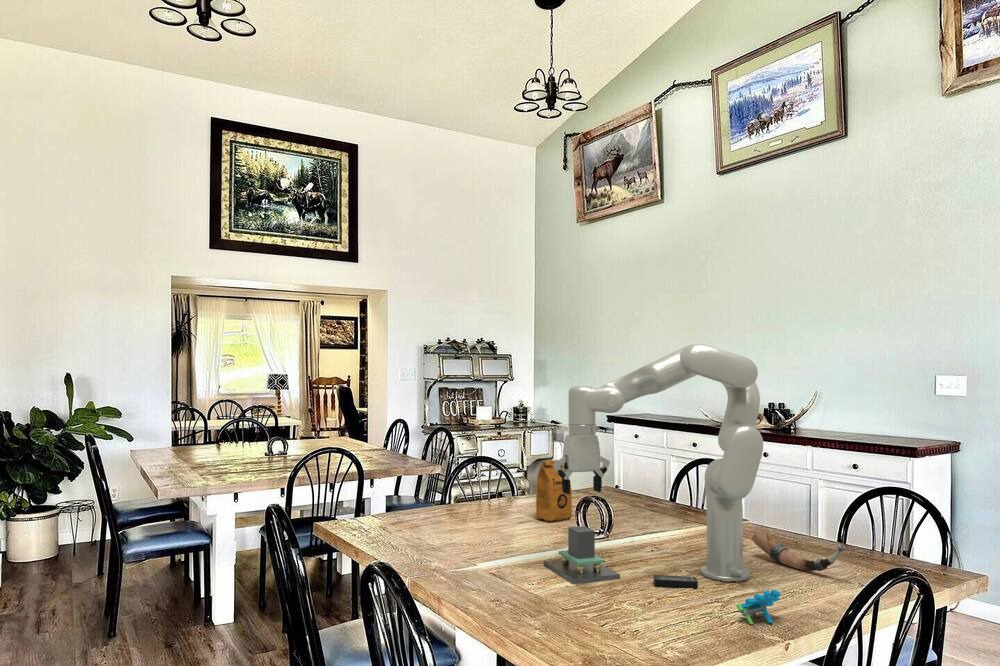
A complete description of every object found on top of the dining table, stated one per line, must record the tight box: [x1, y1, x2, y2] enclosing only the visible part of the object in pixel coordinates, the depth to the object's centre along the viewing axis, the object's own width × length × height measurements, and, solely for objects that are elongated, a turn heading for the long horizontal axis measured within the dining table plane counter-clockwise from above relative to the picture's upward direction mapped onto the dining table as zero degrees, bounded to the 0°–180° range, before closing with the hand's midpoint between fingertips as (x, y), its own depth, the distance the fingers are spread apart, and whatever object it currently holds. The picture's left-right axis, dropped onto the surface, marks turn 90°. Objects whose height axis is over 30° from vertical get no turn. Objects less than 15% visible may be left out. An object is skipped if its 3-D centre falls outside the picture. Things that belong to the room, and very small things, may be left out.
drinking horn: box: [751, 528, 846, 572], centre depth 197 cm, size 6×30×10 cm, turn 28°
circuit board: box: [558, 525, 606, 566], centre depth 191 cm, size 12×8×8 cm, turn 21°
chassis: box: [543, 556, 621, 585], centre depth 191 cm, size 18×14×4 cm
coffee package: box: [535, 459, 573, 522], centre depth 256 cm, size 10×12×22 cm
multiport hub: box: [652, 574, 699, 590], centre depth 180 cm, size 4×11×2 cm, turn 82°
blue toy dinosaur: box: [735, 589, 782, 625], centre depth 156 cm, size 11×6×10 cm
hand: (582, 492), depth 192 cm, fingers open, 9 cm apart
